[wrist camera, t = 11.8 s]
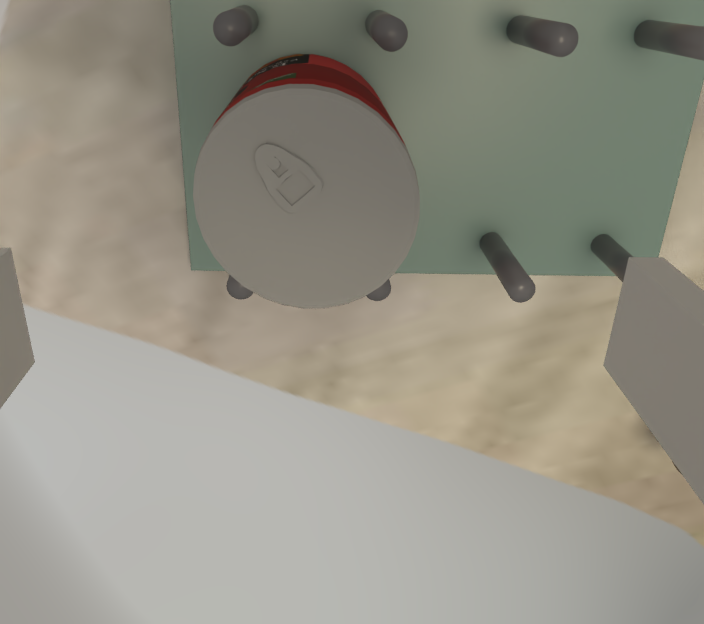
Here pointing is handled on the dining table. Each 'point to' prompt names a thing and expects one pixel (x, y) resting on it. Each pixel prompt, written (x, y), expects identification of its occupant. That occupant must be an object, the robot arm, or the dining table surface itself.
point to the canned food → (307, 185)
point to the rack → (484, 117)
